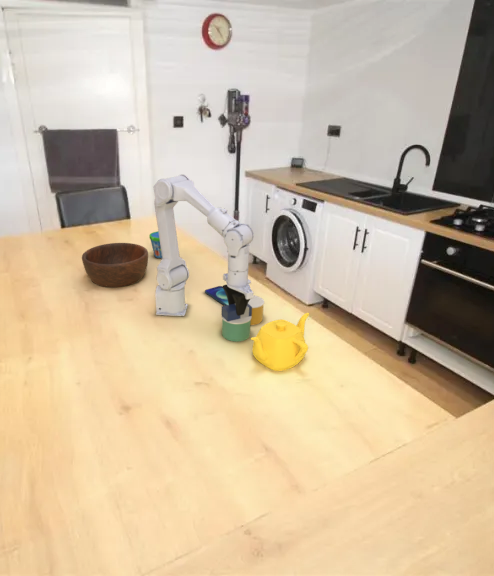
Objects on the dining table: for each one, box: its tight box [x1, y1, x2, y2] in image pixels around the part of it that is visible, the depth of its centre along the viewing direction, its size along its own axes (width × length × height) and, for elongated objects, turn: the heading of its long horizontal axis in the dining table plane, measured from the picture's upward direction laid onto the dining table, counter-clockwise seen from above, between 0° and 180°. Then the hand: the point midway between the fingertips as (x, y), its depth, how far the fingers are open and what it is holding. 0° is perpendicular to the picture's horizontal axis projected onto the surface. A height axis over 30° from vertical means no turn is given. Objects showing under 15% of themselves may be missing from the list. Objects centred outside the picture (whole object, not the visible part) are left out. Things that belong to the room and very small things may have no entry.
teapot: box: [250, 312, 310, 372], centre depth 109 cm, size 22×16×11 cm
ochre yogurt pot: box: [248, 294, 265, 326], centre depth 130 cm, size 9×9×6 cm
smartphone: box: [204, 285, 229, 306], centre depth 145 cm, size 8×1×15 cm
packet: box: [220, 304, 252, 321], centre depth 120 cm, size 8×4×3 cm, turn 114°
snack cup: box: [148, 230, 162, 259], centre depth 181 cm, size 16×10×10 cm
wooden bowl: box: [81, 242, 149, 288], centre depth 159 cm, size 25×25×10 cm
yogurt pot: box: [221, 316, 252, 343], centre depth 122 cm, size 9×9×6 cm
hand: (236, 311), depth 120 cm, fingers closed on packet, 4 cm apart
